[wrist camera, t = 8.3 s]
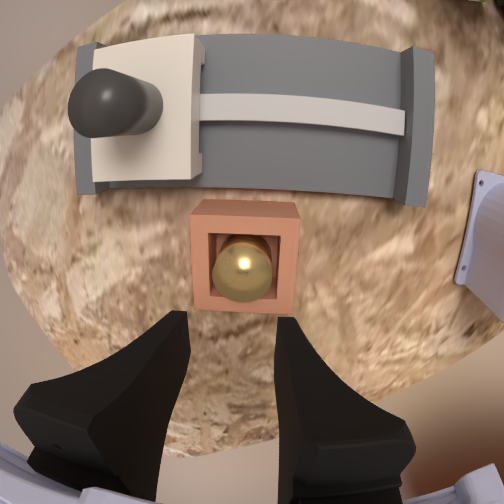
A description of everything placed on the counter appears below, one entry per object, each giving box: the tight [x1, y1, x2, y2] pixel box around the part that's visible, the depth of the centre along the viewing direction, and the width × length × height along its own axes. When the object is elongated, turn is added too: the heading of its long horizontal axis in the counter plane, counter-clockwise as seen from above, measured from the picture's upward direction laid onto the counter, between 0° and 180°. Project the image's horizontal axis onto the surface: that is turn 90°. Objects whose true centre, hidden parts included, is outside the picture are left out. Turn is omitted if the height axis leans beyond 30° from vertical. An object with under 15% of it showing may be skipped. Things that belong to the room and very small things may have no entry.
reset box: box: [190, 199, 301, 314], centre depth 20 cm, size 6×6×4 cm
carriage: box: [68, 34, 205, 182], centre depth 14 cm, size 8×6×7 cm
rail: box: [74, 34, 435, 208], centre depth 17 cm, size 10×22×3 cm, turn 88°
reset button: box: [212, 234, 272, 303], centre depth 18 cm, size 3×3×3 cm
